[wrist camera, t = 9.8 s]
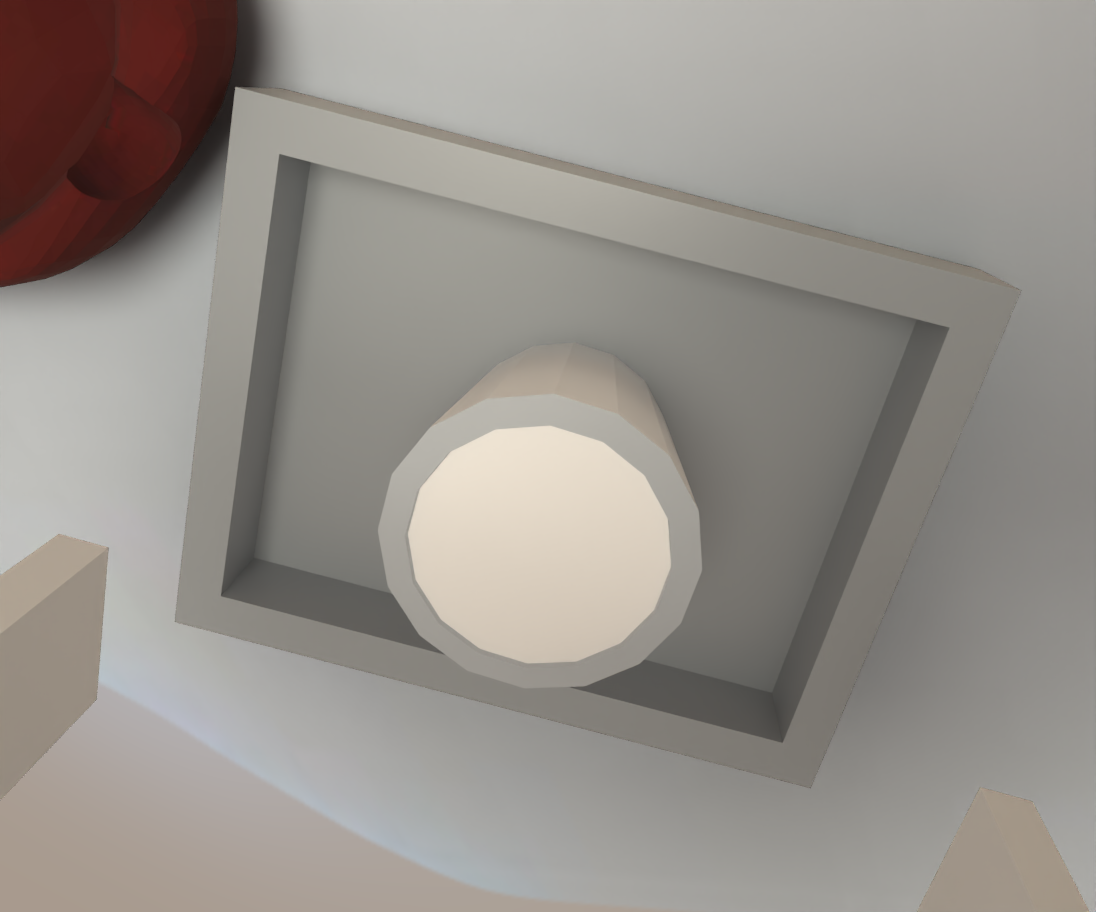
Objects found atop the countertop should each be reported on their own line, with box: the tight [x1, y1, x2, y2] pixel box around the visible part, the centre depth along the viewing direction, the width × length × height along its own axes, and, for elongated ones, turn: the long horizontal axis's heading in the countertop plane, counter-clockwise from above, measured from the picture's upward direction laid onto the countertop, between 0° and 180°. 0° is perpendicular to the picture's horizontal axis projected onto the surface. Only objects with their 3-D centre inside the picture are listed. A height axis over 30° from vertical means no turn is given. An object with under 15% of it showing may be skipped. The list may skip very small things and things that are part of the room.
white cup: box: [378, 343, 702, 688], centre depth 23 cm, size 7×7×7 cm
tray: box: [175, 87, 1021, 788], centre depth 26 cm, size 18×14×3 cm
